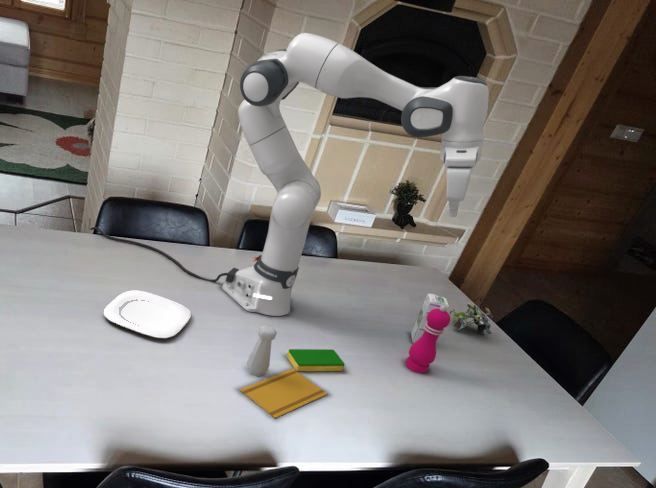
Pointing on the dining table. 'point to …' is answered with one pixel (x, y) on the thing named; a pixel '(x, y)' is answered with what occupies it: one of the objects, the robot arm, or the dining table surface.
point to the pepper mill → (428, 341)
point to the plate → (148, 314)
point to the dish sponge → (315, 360)
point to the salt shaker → (261, 351)
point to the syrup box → (428, 305)
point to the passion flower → (478, 318)
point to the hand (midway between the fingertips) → (452, 210)
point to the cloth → (283, 392)
